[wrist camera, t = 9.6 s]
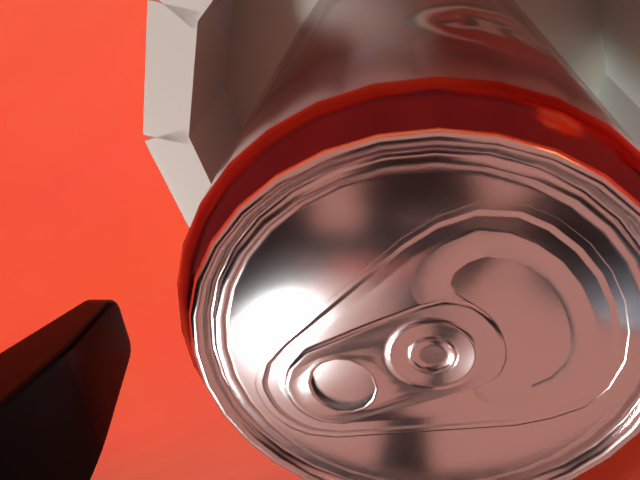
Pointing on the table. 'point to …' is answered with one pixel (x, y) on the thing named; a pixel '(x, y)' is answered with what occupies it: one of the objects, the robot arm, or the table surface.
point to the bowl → (271, 45)
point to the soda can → (422, 254)
